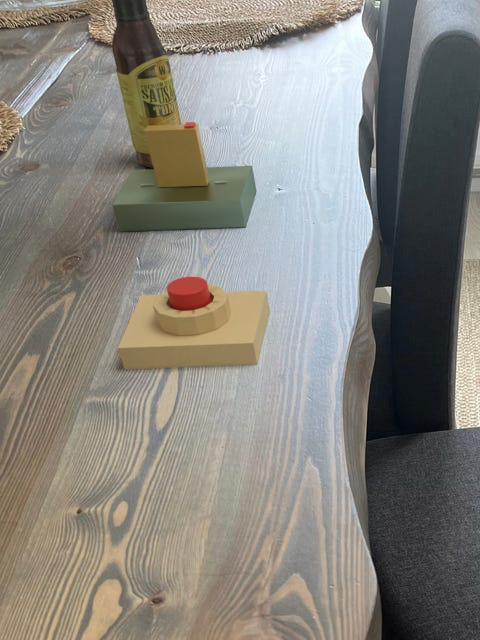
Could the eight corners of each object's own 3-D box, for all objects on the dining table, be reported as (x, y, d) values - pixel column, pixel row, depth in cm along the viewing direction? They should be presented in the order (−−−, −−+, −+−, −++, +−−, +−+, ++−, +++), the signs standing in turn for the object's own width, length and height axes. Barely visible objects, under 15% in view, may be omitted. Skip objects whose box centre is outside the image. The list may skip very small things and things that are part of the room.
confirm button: (167, 313, 90) (163, 295, 89) (175, 295, 93) (170, 276, 91) (208, 312, 90) (203, 293, 89) (214, 293, 93) (210, 275, 91)
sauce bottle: (163, 174, 123) (118, -15, 109) (127, 165, 126) (78, -21, 111) (200, 156, 127) (161, -29, 113) (164, 148, 129) (121, -34, 115)
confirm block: (124, 370, 90) (111, 329, 88) (146, 316, 97) (135, 276, 95) (257, 365, 91) (249, 323, 88) (270, 311, 98) (263, 272, 95)
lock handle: (158, 187, 112) (143, 128, 108) (161, 182, 113) (146, 123, 109) (207, 185, 112) (195, 126, 108) (209, 180, 113) (197, 121, 109)
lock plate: (119, 231, 111) (111, 203, 109) (138, 196, 119) (130, 168, 116) (245, 227, 112) (240, 198, 109) (256, 191, 119) (251, 164, 116)
